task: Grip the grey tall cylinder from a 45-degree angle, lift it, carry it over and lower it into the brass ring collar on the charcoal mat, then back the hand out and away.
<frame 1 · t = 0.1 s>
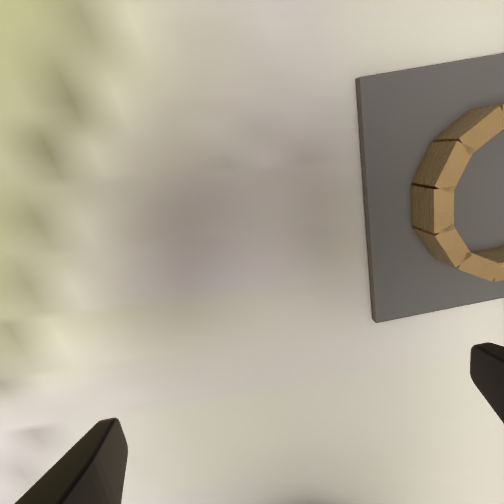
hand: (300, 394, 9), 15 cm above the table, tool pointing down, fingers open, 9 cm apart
ring collar: (487, 191, 22), resting on mat
mat: (480, 190, 23), on the table
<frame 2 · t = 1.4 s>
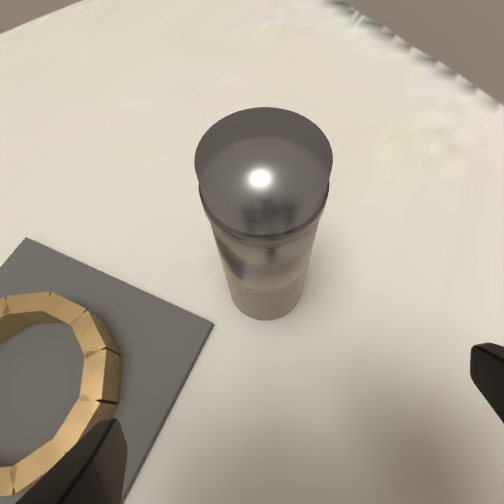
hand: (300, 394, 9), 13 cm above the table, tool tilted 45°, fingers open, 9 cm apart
ring collar: (36, 387, 21), resting on mat
mat: (42, 388, 22), on the table
grey tall cylinder: (265, 285, 24), on the table
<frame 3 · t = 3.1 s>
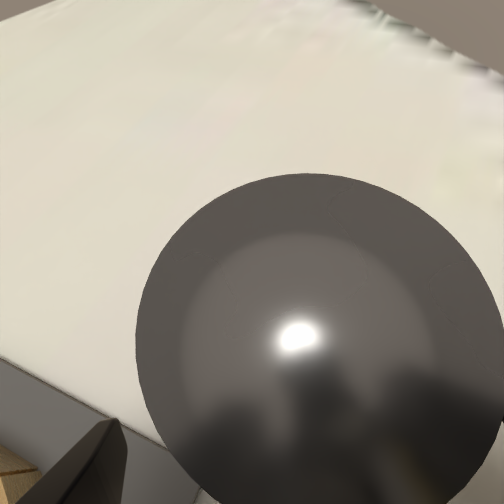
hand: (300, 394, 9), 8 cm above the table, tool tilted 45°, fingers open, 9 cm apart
grey tall cylinder: (283, 399, 16), on the table
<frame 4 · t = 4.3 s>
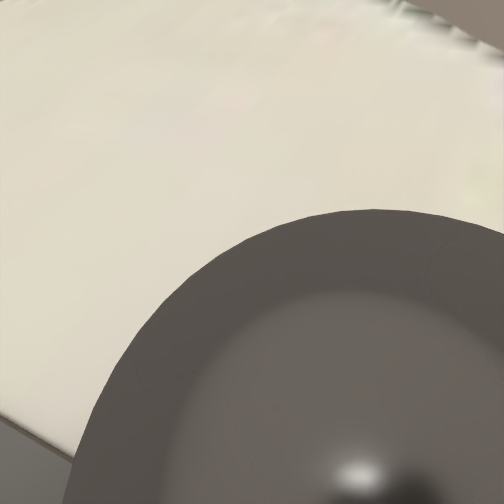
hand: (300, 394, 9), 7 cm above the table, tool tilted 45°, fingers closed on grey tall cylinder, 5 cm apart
grey tall cylinder: (295, 447, 14), on the table, touching gripper
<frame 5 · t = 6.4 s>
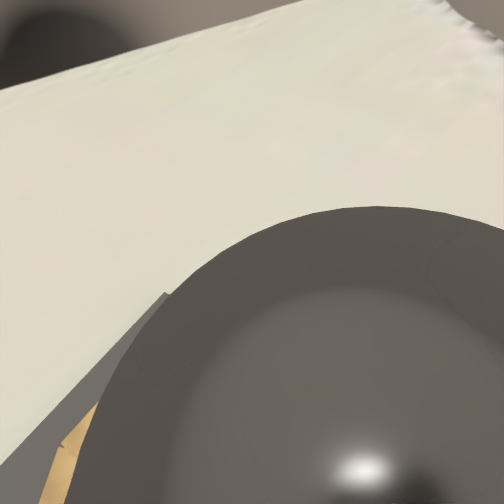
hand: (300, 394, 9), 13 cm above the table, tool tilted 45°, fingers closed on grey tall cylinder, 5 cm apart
ring collar: (164, 488, 18), resting on mat
mat: (167, 487, 19), on the table
grey tall cylinder: (296, 446, 14), point 7 cm above the table, touching gripper
when the fingers open (8 cm above the table, at t = 8.6 s): grey tall cylinder stays where it is, resting on mat.
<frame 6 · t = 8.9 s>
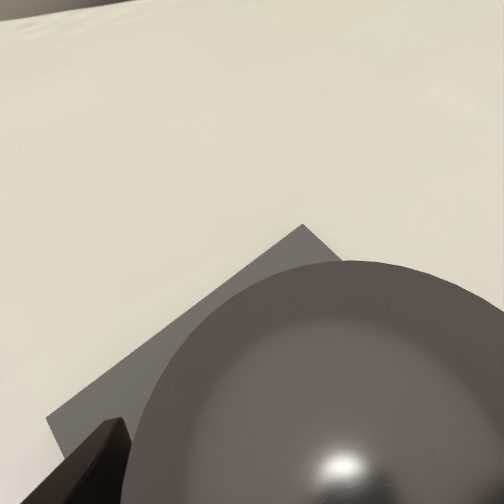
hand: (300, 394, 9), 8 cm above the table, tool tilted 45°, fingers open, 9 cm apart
mat: (293, 446, 15), on the table
grey tall cylinder: (294, 450, 15), point 1 cm above the table, touching mat
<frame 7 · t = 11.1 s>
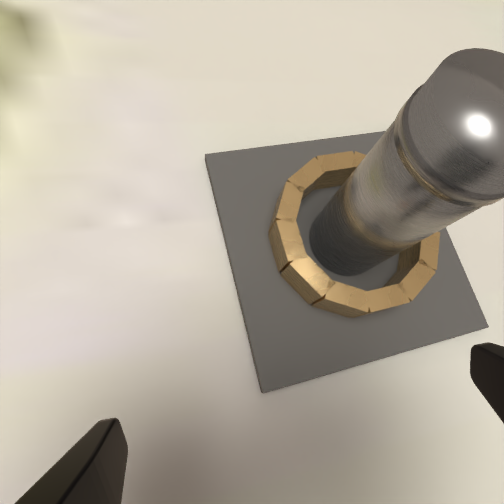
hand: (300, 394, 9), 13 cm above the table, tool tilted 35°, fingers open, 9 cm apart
ring collar: (344, 239, 24), resting on mat
mat: (341, 242, 24), on the table
grey tall cylinder: (344, 240, 24), point 1 cm above the table, touching mat
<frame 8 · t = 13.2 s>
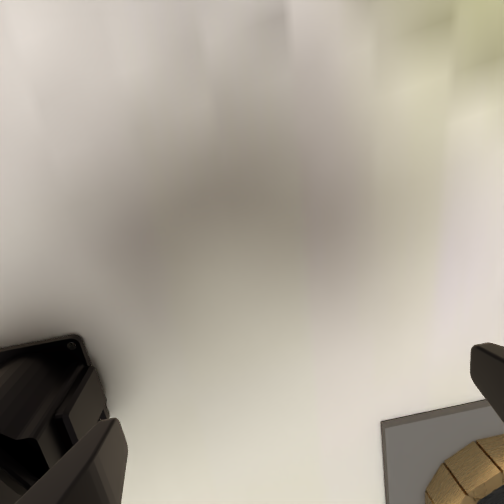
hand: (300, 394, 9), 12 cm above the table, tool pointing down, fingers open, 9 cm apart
ring collar: (489, 488, 27), resting on mat
mat: (484, 481, 27), on the table
grey tall cylinder: (488, 488, 27), point 1 cm above the table, touching mat
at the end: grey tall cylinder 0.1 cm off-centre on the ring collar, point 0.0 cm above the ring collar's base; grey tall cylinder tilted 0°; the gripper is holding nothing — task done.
